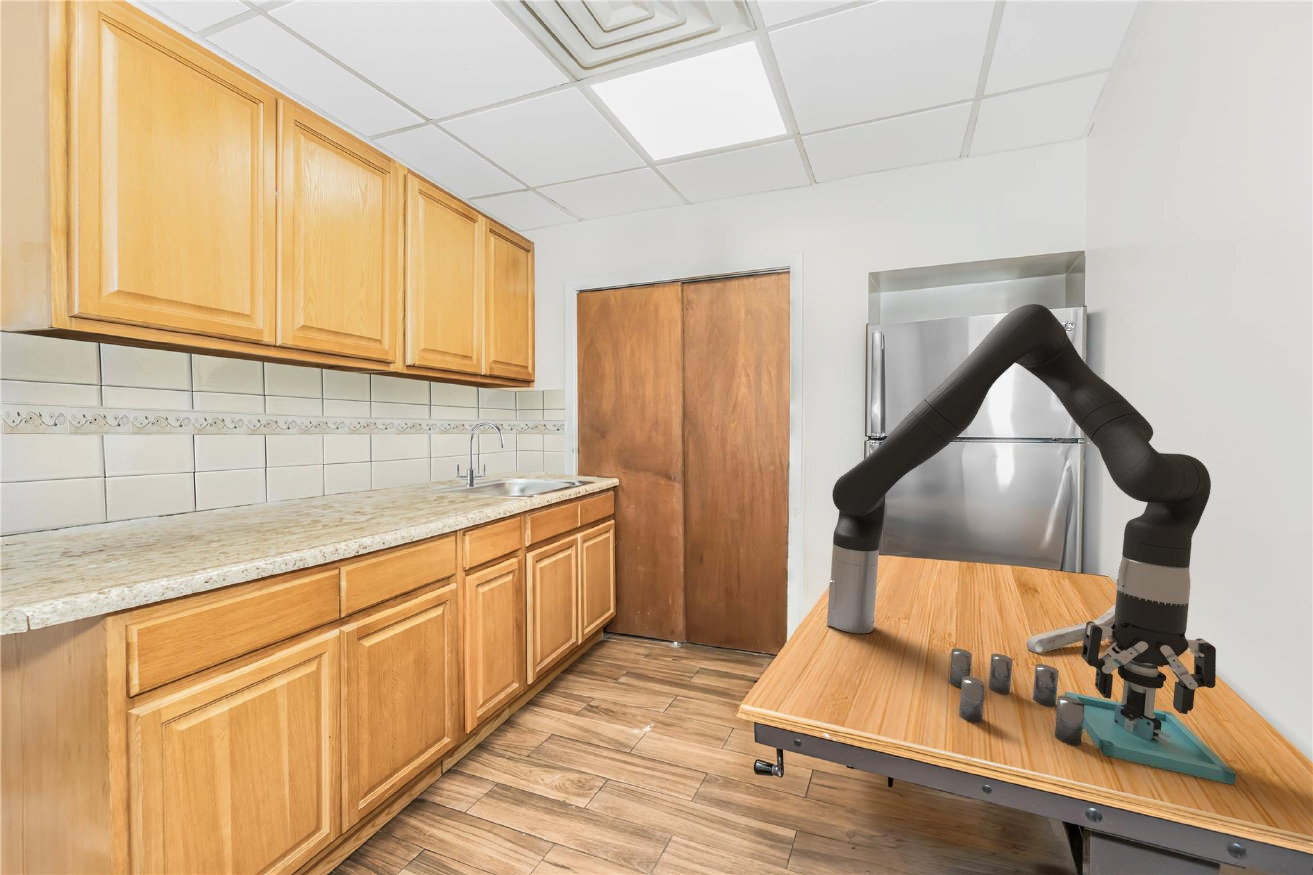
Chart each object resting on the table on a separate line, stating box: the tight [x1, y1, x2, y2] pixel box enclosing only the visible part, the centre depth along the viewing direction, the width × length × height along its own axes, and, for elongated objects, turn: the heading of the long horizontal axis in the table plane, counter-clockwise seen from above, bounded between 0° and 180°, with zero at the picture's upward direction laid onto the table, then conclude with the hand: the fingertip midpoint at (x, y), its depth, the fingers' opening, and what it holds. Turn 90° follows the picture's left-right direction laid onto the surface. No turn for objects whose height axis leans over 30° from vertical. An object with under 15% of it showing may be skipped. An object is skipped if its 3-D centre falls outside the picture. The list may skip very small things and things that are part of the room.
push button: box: [1114, 660, 1171, 744], centre depth 76 cm, size 7×5×10 cm
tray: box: [1064, 691, 1237, 786], centre depth 76 cm, size 13×15×2 cm
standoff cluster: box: [948, 647, 1085, 747], centre depth 83 cm, size 15×15×6 cm
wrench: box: [1026, 603, 1116, 654], centre depth 109 cm, size 8×2×30 cm
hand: (1141, 703), depth 76 cm, fingers open, 8 cm apart
